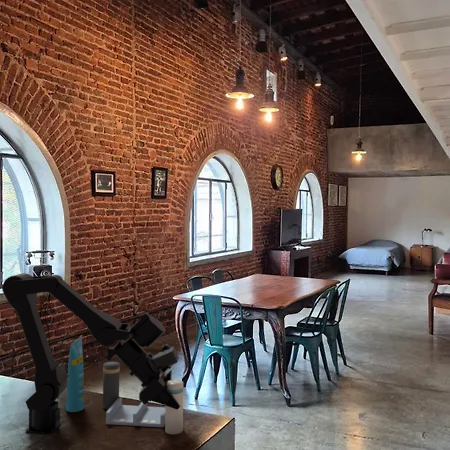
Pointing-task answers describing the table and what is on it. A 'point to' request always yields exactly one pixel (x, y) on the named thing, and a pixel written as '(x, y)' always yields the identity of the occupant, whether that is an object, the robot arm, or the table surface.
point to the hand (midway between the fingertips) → (179, 404)
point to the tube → (75, 378)
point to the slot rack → (135, 415)
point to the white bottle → (174, 415)
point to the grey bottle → (110, 383)
